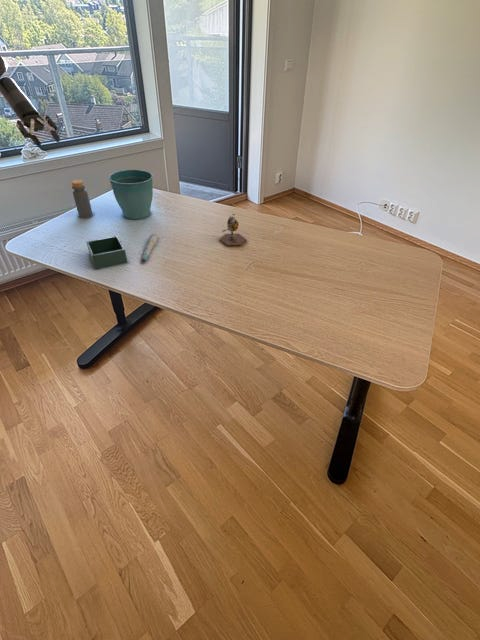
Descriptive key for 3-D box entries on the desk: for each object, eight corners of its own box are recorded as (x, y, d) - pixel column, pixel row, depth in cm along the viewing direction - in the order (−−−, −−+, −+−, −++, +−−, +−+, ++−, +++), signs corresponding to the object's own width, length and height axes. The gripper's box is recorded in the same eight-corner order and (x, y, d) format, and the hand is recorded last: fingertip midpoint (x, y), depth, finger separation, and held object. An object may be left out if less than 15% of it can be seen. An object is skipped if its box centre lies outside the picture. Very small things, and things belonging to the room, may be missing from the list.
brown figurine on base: (229, 232, 148) (229, 205, 140) (248, 238, 145) (250, 210, 137) (216, 243, 140) (216, 215, 132) (237, 249, 138) (238, 221, 130)
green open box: (95, 269, 122) (92, 256, 119) (89, 255, 130) (86, 241, 126) (127, 263, 127) (124, 249, 123) (120, 249, 134) (117, 235, 130)
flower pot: (116, 207, 162) (109, 169, 151) (155, 205, 166) (151, 168, 155) (115, 224, 149) (107, 184, 138) (158, 221, 153) (153, 182, 142)
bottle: (90, 218, 152) (81, 184, 142) (77, 218, 152) (67, 183, 142) (94, 213, 157) (86, 179, 147) (81, 212, 157) (72, 178, 147)
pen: (150, 238, 141) (149, 232, 139) (158, 239, 141) (157, 232, 139) (139, 264, 127) (138, 257, 125) (148, 264, 127) (146, 257, 125)
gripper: (5, 101, 130) (35, 140, 133) (40, 97, 139) (67, 133, 142) (3, 115, 135) (31, 152, 139) (36, 110, 145) (62, 145, 148)
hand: (49, 143), depth 141 cm, fingers open, 8 cm apart
